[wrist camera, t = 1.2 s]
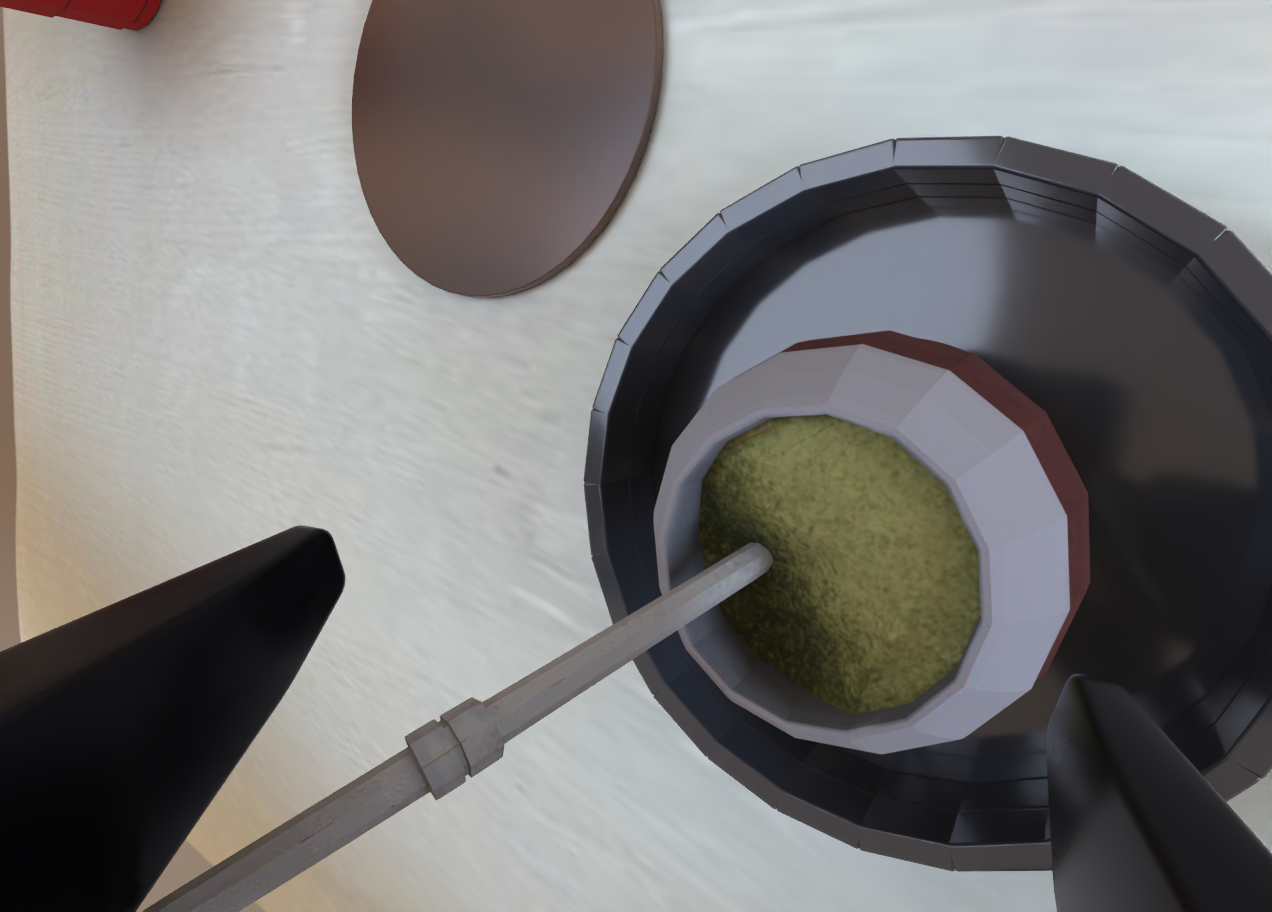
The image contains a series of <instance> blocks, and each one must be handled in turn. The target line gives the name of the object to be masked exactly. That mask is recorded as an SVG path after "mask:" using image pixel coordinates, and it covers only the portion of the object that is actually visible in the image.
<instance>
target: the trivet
mask: <svg viewBox="0 0 1272 912" xmlns="http://www.w3.org/2000/svg"><path fill="white" fill-rule="evenodd" d="M662 61H663V31H662V15H661V8H660V2H659V0H372V3H371V6H370V9H369V12H368V16H367V19H366V22H365V25H364V29H363V33H362V37H361V41H360V45H359V49H358V55H357V61H356V67H355V73H354V84H353V95H352V131H353V144H354V153H355V159H356V165H357V171H358V175H359V179H360V183H361V187H362V190H363V194H364V197H365V199H366V202H367V205H368V208H369V210H370V213H371V215H372V217H373V219H374V221H375V223H376V225H377V227H378V229H379V231H380V233H381V234H382V236H383V238H384V239H385V241H386V242H387V244H388V245H389V247H390V248H391V250H392V251H393V252H394V253H395V254H396V255H397V257H398V258H399V259H400V260H401V261H402V262H403V263H404V264H405V265H406V266H407V267H408V268H409V269H410V270H412V271H413V272H414V273H415V274H416V275H417V276H419V277H420V278H422V279H424V280H425V281H427V282H428V283H430V284H431V285H433V286H436V287H438V288H440V289H443V290H445V291H448V292H451V293H455V294H460V295H465V296H471V297H498V296H505V295H511V294H514V293H517V292H521V291H524V290H527V289H530V288H532V287H534V286H536V285H538V284H540V283H542V282H544V281H546V280H548V279H549V278H551V277H553V276H554V275H555V274H557V273H558V272H560V271H561V270H562V269H564V268H565V267H567V266H568V265H569V264H571V263H572V262H573V261H574V260H575V259H576V258H577V257H578V256H579V255H580V254H581V253H582V252H583V251H584V250H586V249H587V248H588V247H589V246H590V244H591V243H592V242H593V241H594V240H595V238H596V237H597V236H598V235H599V234H600V232H601V231H602V230H603V229H604V228H605V226H606V225H607V223H608V222H609V220H610V219H611V217H612V216H613V214H614V213H615V211H616V210H617V208H618V207H619V205H620V204H621V202H622V200H623V198H624V196H625V194H626V192H627V190H628V189H629V187H630V185H631V183H632V181H633V179H634V177H635V175H636V172H637V170H638V167H639V165H640V162H641V159H642V157H643V154H644V152H645V149H646V147H647V143H648V140H649V136H650V133H651V129H652V125H653V122H654V118H655V114H656V109H657V103H658V97H659V91H660V85H661V76H662Z"/></svg>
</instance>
